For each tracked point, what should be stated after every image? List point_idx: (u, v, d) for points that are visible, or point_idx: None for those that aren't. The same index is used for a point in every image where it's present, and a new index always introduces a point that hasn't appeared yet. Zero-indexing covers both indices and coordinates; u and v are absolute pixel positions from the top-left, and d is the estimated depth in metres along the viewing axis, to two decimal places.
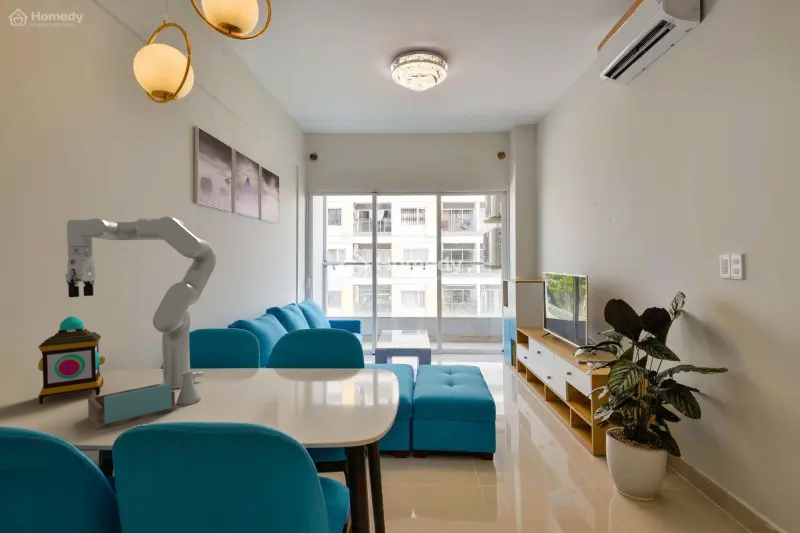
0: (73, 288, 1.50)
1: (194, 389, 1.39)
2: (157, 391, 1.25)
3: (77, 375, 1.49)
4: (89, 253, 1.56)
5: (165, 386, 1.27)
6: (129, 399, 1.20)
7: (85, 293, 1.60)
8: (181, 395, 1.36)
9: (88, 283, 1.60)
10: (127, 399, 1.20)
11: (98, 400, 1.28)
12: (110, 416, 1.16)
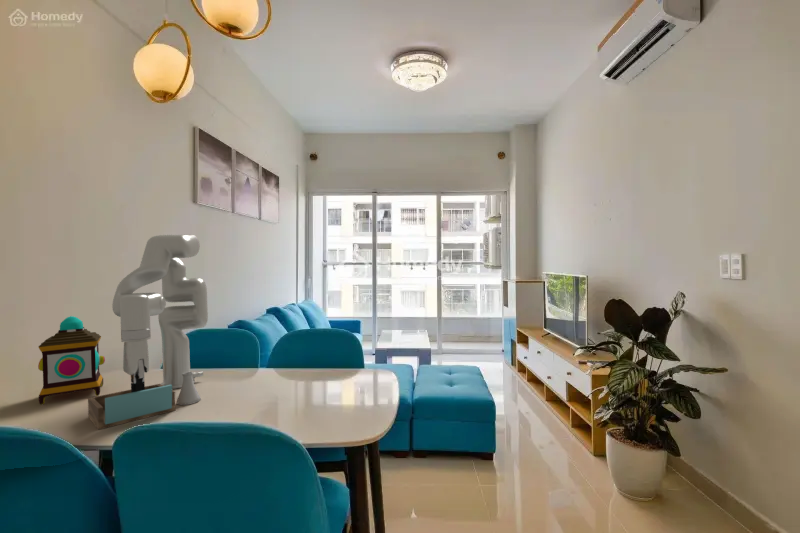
0: None
1: (194, 389, 1.39)
2: (158, 392, 1.25)
3: (77, 375, 1.49)
4: (121, 338, 1.21)
5: (166, 387, 1.26)
6: (130, 400, 1.19)
7: None
8: (181, 395, 1.36)
9: None
10: (128, 400, 1.19)
11: (98, 400, 1.28)
12: (110, 417, 1.16)
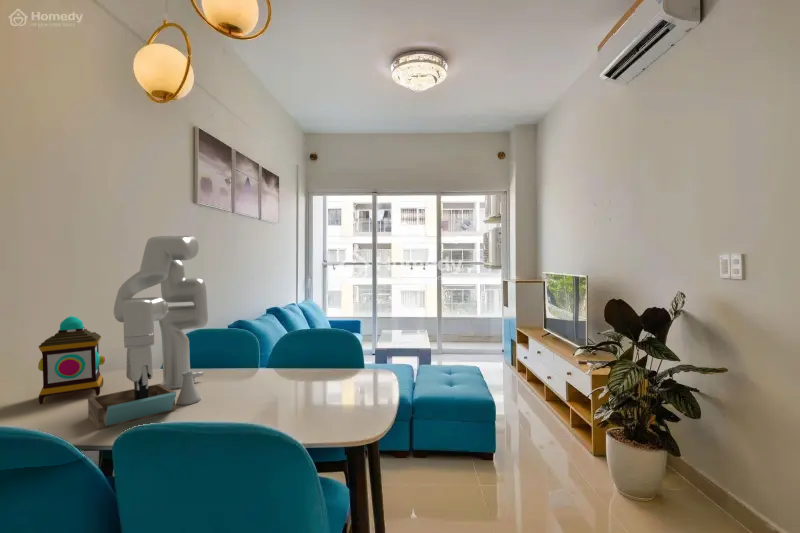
0: None
1: (194, 389, 1.39)
2: (161, 400, 1.23)
3: (77, 375, 1.49)
4: (124, 345, 1.19)
5: (170, 396, 1.24)
6: (132, 408, 1.18)
7: None
8: (181, 395, 1.36)
9: None
10: (130, 408, 1.17)
11: (98, 400, 1.28)
12: (110, 421, 1.16)
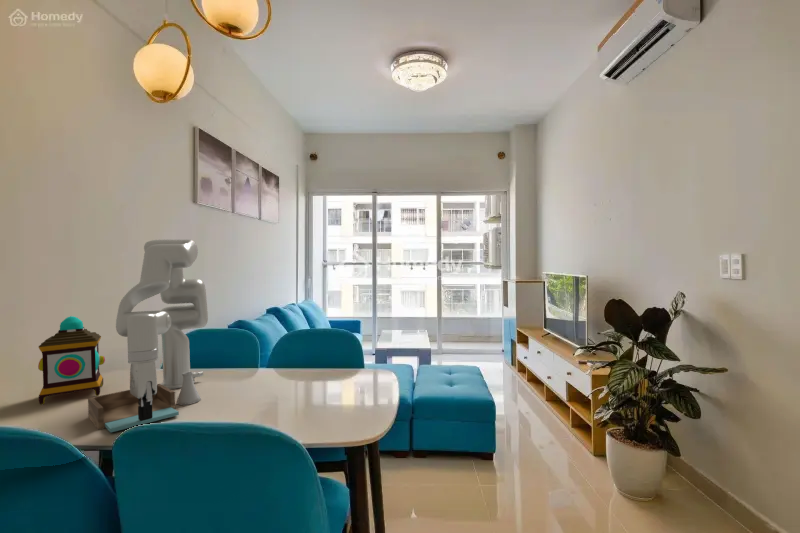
0: None
1: (194, 389, 1.39)
2: None
3: (77, 375, 1.49)
4: (128, 360, 1.16)
5: (172, 416, 1.23)
6: None
7: None
8: (181, 395, 1.36)
9: None
10: None
11: (98, 400, 1.28)
12: None
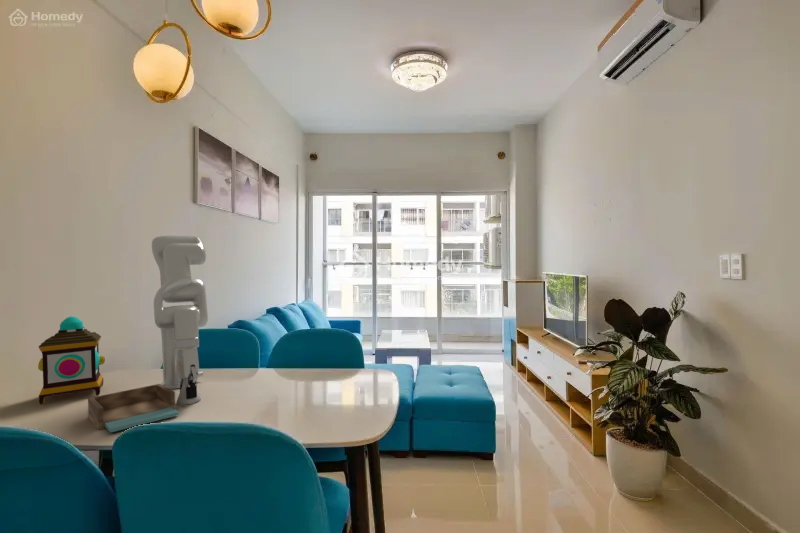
0: None
1: None
2: None
3: (77, 375, 1.49)
4: (174, 347, 1.37)
5: (172, 416, 1.23)
6: None
7: None
8: (181, 395, 1.36)
9: None
10: None
11: (98, 400, 1.28)
12: None
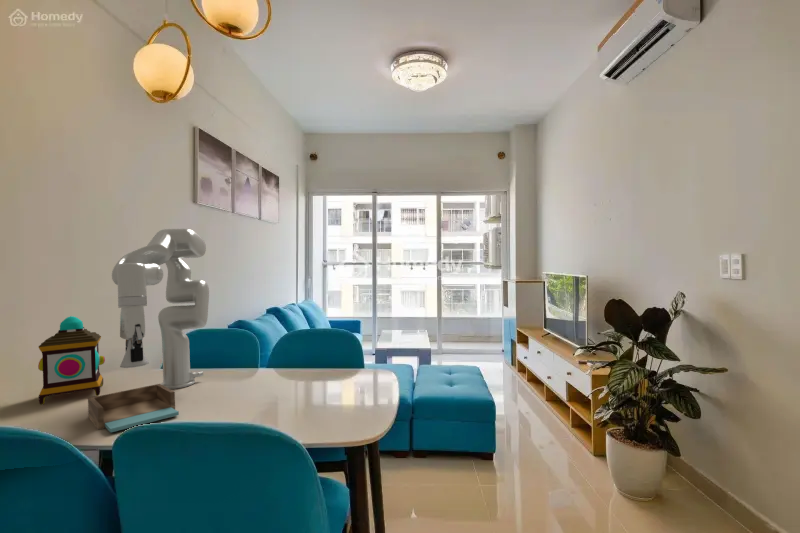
0: None
1: None
2: None
3: (77, 375, 1.49)
4: (118, 305, 1.25)
5: (172, 416, 1.23)
6: None
7: None
8: (126, 358, 1.25)
9: None
10: None
11: (98, 400, 1.28)
12: None
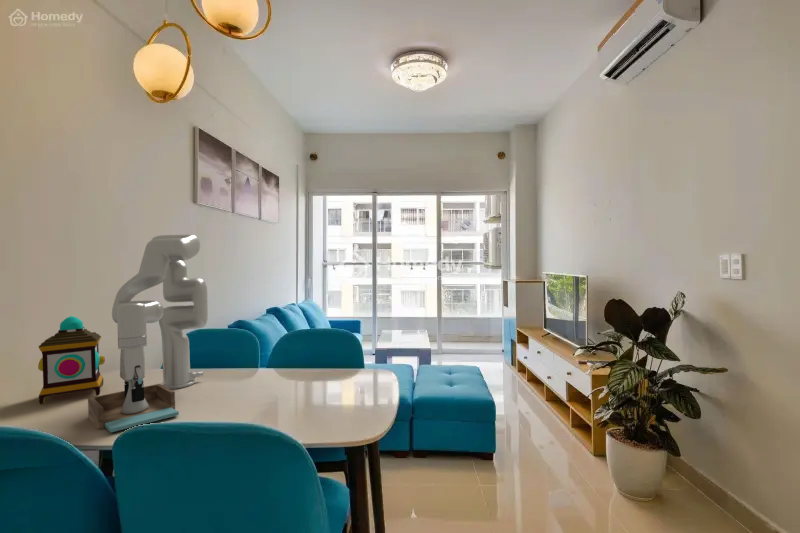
0: None
1: None
2: None
3: (77, 375, 1.49)
4: (118, 346, 1.25)
5: (172, 416, 1.23)
6: None
7: None
8: (126, 403, 1.24)
9: None
10: None
11: (98, 400, 1.28)
12: None
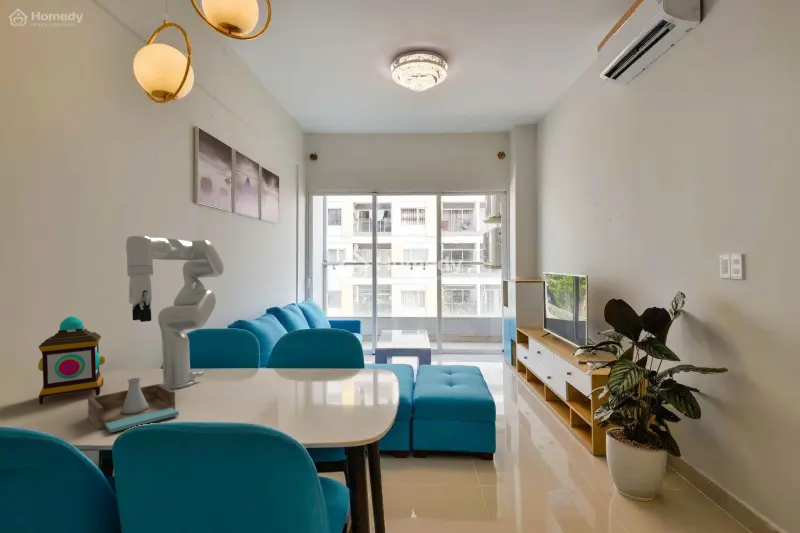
0: None
1: (141, 396, 1.26)
2: None
3: (77, 375, 1.49)
4: (127, 273, 1.39)
5: (172, 416, 1.23)
6: None
7: None
8: (126, 403, 1.24)
9: None
10: None
11: (98, 400, 1.28)
12: None
